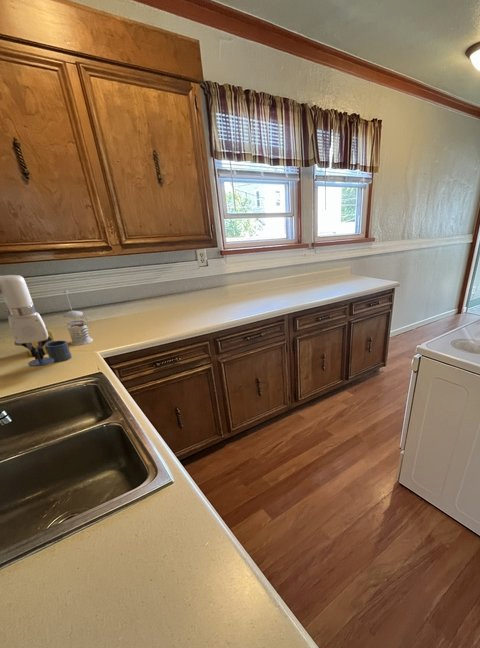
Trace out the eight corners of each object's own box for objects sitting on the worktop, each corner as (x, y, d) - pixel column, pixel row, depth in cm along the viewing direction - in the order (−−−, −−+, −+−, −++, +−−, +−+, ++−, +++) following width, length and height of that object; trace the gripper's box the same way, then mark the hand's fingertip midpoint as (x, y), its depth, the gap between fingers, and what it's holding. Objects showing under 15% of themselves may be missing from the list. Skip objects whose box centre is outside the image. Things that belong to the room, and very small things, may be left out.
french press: (65, 343, 159) (47, 291, 147) (86, 336, 168) (71, 286, 157) (80, 346, 156) (62, 293, 144) (100, 338, 165) (86, 288, 154)
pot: (50, 364, 136) (44, 348, 132) (51, 358, 142) (45, 342, 138) (72, 361, 140) (66, 344, 136) (71, 355, 145) (66, 339, 142)
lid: (28, 369, 123) (22, 354, 120) (30, 362, 129) (24, 347, 126) (54, 365, 127) (49, 350, 124) (54, 358, 133) (49, 344, 131)
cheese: (31, 357, 143) (22, 335, 139) (28, 350, 150) (20, 329, 146) (59, 351, 149) (51, 330, 145) (55, 345, 157) (48, 325, 152)
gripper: (-7, 316, 112) (13, 365, 120) (47, 310, 120) (63, 357, 128) (-4, 311, 118) (15, 358, 126) (48, 306, 125) (63, 351, 134)
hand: (39, 357), depth 127 cm, fingers closed on lid, 1 cm apart
